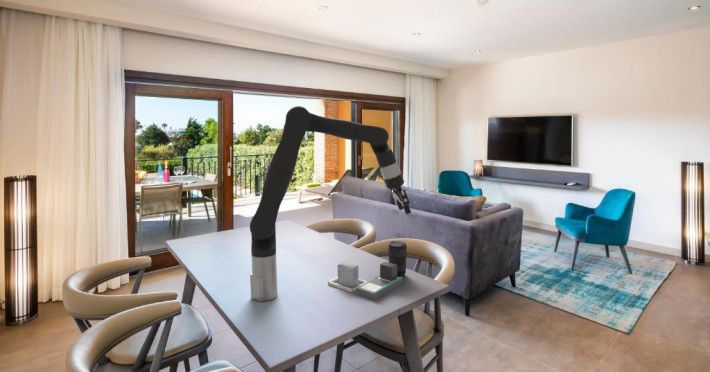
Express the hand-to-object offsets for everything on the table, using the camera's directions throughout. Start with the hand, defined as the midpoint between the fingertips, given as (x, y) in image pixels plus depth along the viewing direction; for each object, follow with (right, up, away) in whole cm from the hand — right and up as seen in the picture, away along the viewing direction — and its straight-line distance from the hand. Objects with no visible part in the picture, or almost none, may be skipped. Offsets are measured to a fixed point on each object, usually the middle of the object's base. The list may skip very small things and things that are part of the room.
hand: (405, 211), depth 150 cm
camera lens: (-2, -30, +14) cm, 33 cm away
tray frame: (-23, -31, +5) cm, 39 cm away
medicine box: (-23, -31, +5) cm, 39 cm away
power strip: (-10, -32, 0) cm, 33 cm away
